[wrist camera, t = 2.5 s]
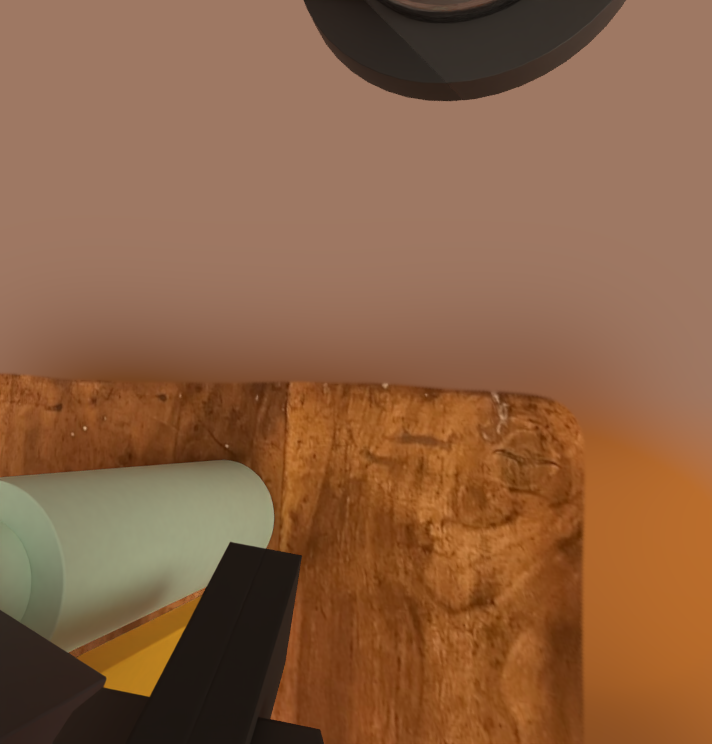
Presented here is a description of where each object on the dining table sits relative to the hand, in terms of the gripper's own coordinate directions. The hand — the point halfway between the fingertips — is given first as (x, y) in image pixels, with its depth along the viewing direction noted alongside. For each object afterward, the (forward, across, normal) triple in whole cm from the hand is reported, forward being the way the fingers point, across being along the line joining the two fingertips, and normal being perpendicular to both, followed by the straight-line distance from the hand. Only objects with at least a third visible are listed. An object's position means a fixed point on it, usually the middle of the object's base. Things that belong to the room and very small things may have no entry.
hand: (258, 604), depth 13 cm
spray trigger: (+9, -3, -9) cm, 13 cm away
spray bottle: (+22, -4, -13) cm, 26 cm away
